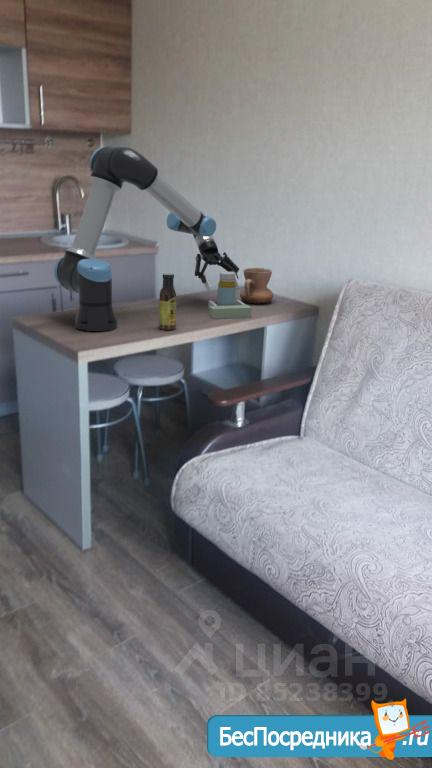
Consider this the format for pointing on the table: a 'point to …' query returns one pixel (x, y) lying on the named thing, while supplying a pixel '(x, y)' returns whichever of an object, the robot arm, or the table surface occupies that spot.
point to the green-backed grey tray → (229, 310)
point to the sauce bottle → (167, 303)
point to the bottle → (226, 289)
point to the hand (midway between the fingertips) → (223, 288)
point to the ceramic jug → (256, 285)
